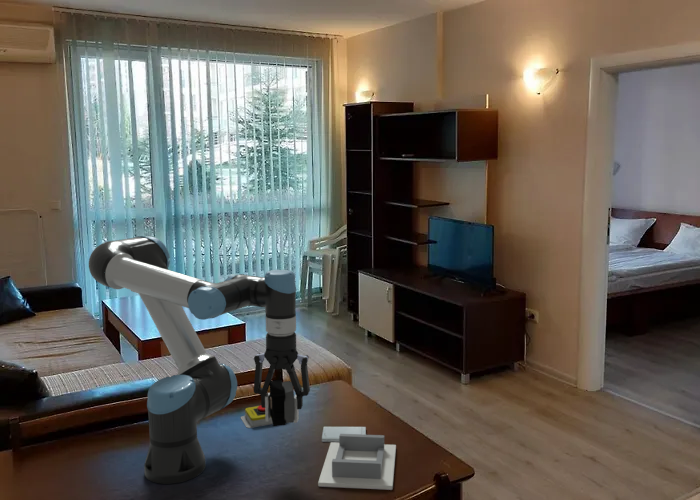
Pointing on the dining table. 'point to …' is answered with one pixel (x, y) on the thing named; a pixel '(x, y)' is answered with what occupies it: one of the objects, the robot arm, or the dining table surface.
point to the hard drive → (340, 432)
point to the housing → (359, 463)
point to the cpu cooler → (282, 402)
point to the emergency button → (255, 417)
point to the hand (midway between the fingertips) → (282, 419)
